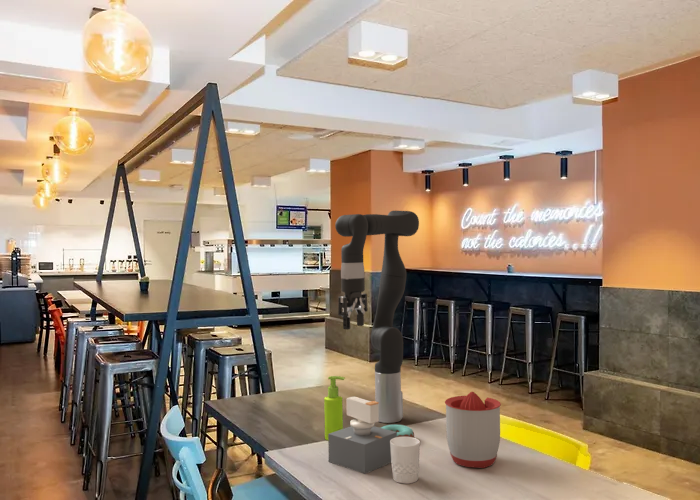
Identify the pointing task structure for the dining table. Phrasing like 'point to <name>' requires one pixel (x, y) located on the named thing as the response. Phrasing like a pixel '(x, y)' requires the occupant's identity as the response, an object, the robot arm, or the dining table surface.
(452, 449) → the citrus juicer
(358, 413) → the wing knob
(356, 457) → the box
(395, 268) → the robot arm
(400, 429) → the donut
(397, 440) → the white cup
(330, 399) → the soap dispenser
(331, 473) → the dining table surface
